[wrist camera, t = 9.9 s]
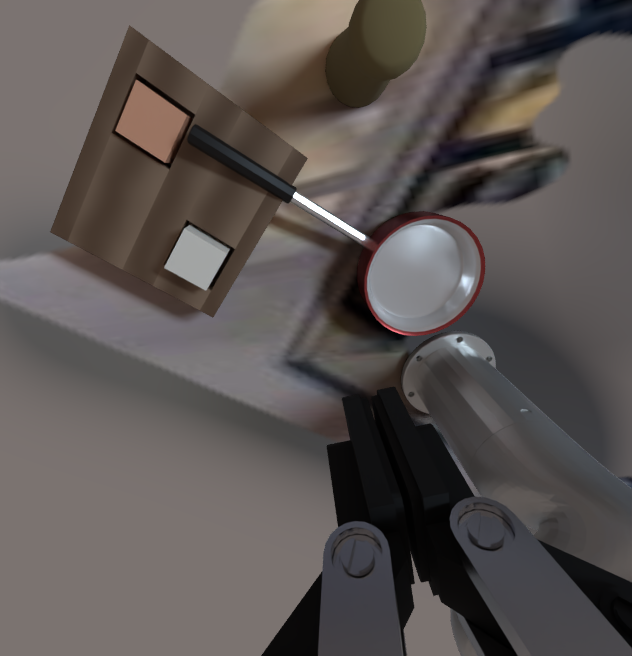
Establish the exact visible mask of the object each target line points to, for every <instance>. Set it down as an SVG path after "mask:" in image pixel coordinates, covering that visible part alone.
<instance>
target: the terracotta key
mask: <svg viewBox="0 0 632 656" xmlns="http://www.w3.org/2000/svg"><path fill="white" fill-rule="evenodd" d="M192 121H193V118H192V117H190V116H189V115H187V114H186V113H184V112H183V111H182V110H180V109H179V108H177V107H176V106H175V105H173V104H172V103H170V102H169V101H167V100H166V99H165V98H163V97H162V96H160V95H159V94H157V93H156V92H155V91H153V90H152V89H150V88H149V87H147V86H146V85H144V84H143V83H141V82H139V81H138V80H136V81H135V84H134V86H133V89H132V91H131V93H130V96H129V98H128V101H127V103H126V106H125V108H124V111H123V113H122V116H121V118H120V120H119V123H118V125H117V128H116V130H115V131H117V132H118V133H120V134H121V135H123V136H124V137H126V138H127V139H129V140H130V141H132V142H134V143H135V144H137V145H138V146H140V147H141V148H143V149H144V150H146V151H148V152H149V153H151V154H152V155H154V156H155V157H157V158H158V159H160V160H162V161H163V162H165V163H173V161H174V159H175V157H176V155H177V153H178V150H179V148H180V146H181V144H182V142H183V140H184V138H185V136H186V133H187V131H188V129H189V127H190V125H191V123H192Z"/></svg>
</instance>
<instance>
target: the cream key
mask: <svg viewBox="0 0 632 656" xmlns="http://www.w3.org/2000/svg"><path fill="white" fill-rule="evenodd" d="M230 248H231V247H229V246H228V245H226V244H224V243H223V242H221V241H219V240H218V239H216V238H214V237H213V236H211V235H209V234H208V233H206V232H204V231H203V230H201V229H199V228H198V227H196V226H195V225H193V224H190V225H189V226H187V227H186V228H184V230H183V232H182V234H181V236H180V238H179V240H178V242H177V244H176V246H175V248H174V249H173V251H172V253H171V255H170V257H169V259H168V261H167V263H166V265H165V267H164V268H165V269H167V270H169V271H171V272H173V273H175V274H176V275H178V276H180V277H182V278H184V279H185V280H187V281H189V282H191V283H193V284H195V285H196V286H198V287H200V288H202V289H204V290H207V289H208V287H209V285H210V283H211V282H212V280H213V278H214V276H215V275H216V273H217V271H218V269H219V268H220V266H221V264H222V262H223V261H224V259H225V257H226V255H227V254H228V252H229V250H230Z"/></svg>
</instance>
